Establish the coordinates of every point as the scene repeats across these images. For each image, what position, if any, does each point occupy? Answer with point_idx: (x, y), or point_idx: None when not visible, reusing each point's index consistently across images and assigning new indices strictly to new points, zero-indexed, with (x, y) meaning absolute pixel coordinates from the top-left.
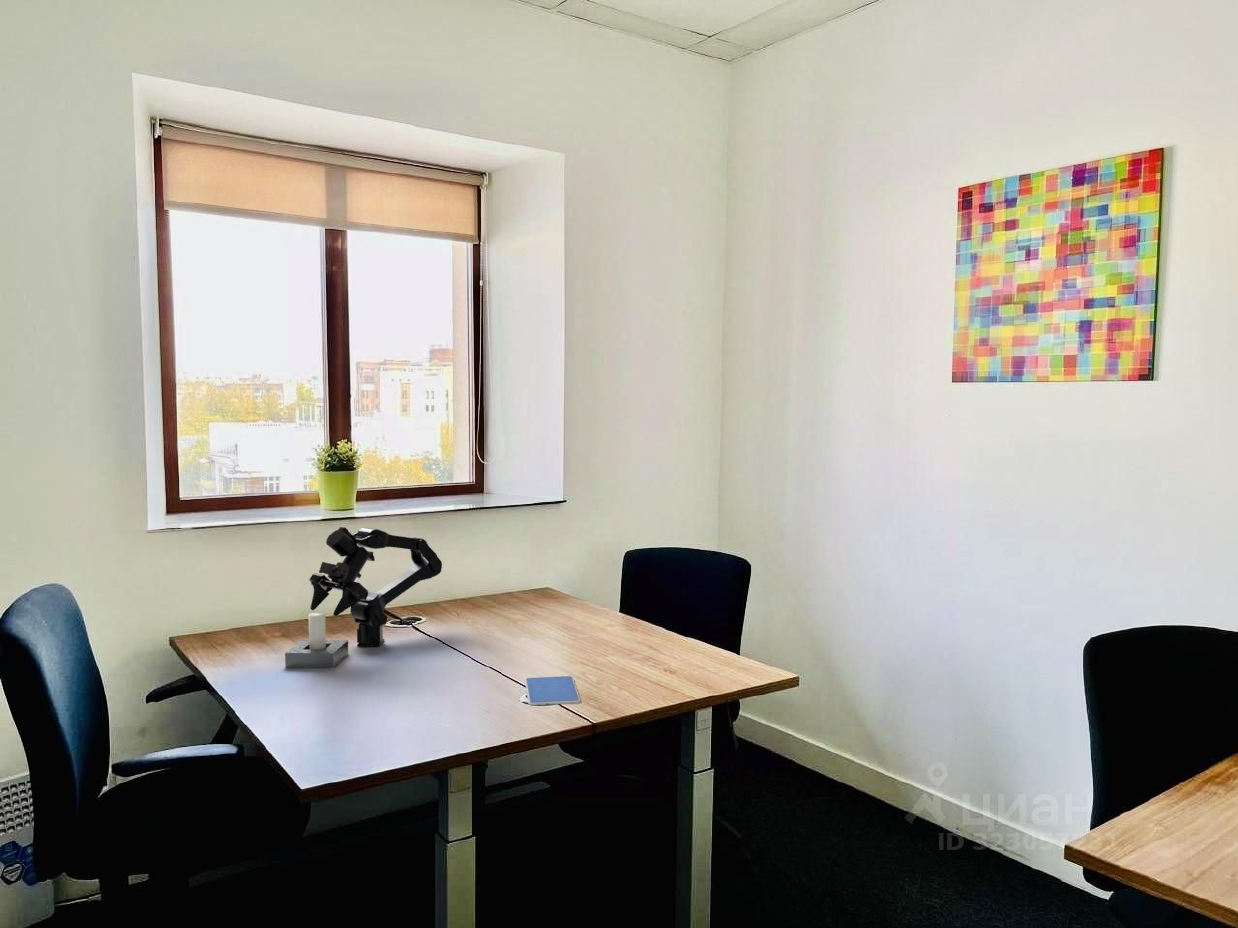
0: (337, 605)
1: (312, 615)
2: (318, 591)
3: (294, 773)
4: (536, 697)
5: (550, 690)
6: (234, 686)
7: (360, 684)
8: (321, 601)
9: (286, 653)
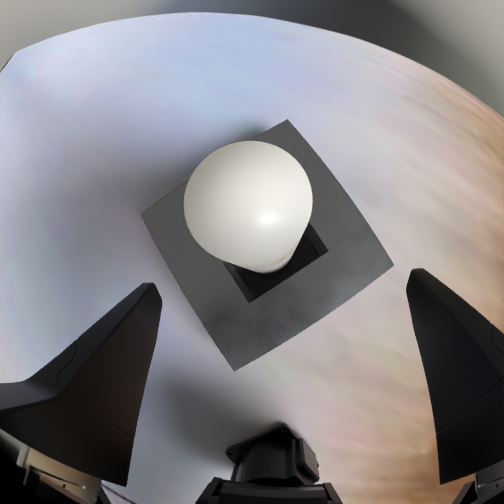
0: (111, 327)
1: (247, 160)
2: (497, 392)
3: (25, 48)
4: None
5: None
6: (253, 30)
7: (46, 189)
8: (431, 389)
9: (283, 122)
